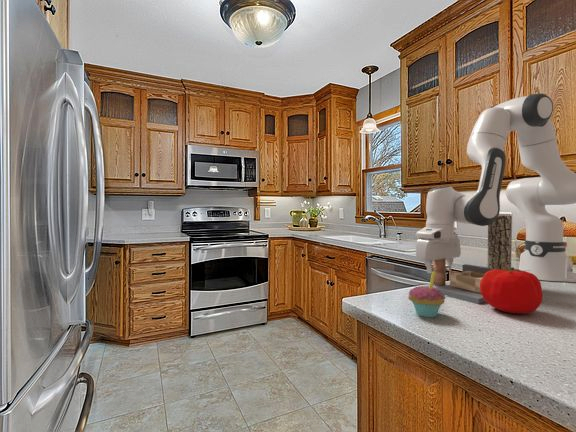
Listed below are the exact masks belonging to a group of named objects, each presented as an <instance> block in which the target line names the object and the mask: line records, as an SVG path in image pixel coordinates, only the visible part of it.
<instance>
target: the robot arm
mask: <svg viewBox="0 0 576 432" xmlns="http://www.w3.org/2000/svg"><path fill="white" fill-rule="evenodd" d="M553 113H554V102H553V100H552V99H551V98H550V96H549V95H547V94H546V93H532V94H529V95H525V96H520V97H516V98H515V97H514V98H511V99H510V100H507V101H504V102H500V103H497V104H494V105H492V106H490V107H488V108H486V109H485V110H482V112H481V113H480V115H479V116H478V118H477V119H476V122H475V124H474V126H473V127H472V131H471V133H470V135H469V139H468V142H467V145H466V155H467V157H468V158H469V159H470V160H471V161H472V162H474V163H476V164H479V165H480V166H481V173H480V177H479V181H478V183H479V184H478V188H477V190H476V191H475V192H474V194H472V195H466V194H463V193H461V192H459V191H457V190H455V189H454V188H453V186H452V185H443V186H437V187H433V188H430V189H429V190H428V192H427V196H426V202H425V203H426V205H425V213H426V221H425V226H424V227H422V229H419V230H418V231H416V233H415V237H416V238H417V240H416V244H415V257H416V259H417V260H418V261H421V262H424V265H425V267H426V273H427V274H431V275H432V272H433V271H434V268H433V260H440V259H443V258H446V272H449V271H452V265H453V263H454V258H460V257H461V254H462V253H461V252H462V251H461V250H462V249H461V241H460V238H459V235H458V234H457V232H456V231H455V225H454V224H455V223H461V224H469V225H470V224H471V225H475V226H479V227H485V226H487V227H488V225H489V224H491V223H493V222H494V221H495V220H496V219H497V217H498V215H499V214H500V213H501V201H500V199H501V198H500V196H501V191H502V185H503V179H504V174H505V169H506V161H507V156H506V153H505V145H506V144H507V143H506V142H507V139H508V135H509V132H514V131H516V132H517V133H516V138H517V146H518V150H519V156H520V162H521V165H522V166H523V167H525V168H526V169H528V170H531V171H534V172H536V173H537V174H538V175H539V176H535V177H524V178H519V179H516V180H511V182H509V183H508V185H507V186H506V189H505V197H506V200H508V202H510V204H513V205H514V206H515V207H516V208H517V209H518V210H519V211H520V212H521V214H522V216H523V219H524V222H525V240H524V244H523V245H524V251H523V252H521V253H520V258H519V268H518V269H519V270H520V271H521V270H522V271H526V272H529V273H532V274H534V275H535V276H536V277H537V278H538V280H539V281H548V282H564V283H566V282H567V283H576V272H573V271H574V266H573V265H574V263H573V260H572V259H571V258H570V257H569V256H568V255H567V253H566V252H567V251H566V248H567V247H568V243H567V242H566V241H564V222H563V221H562V219H560V218H559V216H556V215H553V214H551V213H549V212H548V211H547V209H546V206H558V205H559V206H563V205H564V206H566V205H573V204H576V172H574V171H573V170H571V169H570V168H569V167H568V166H567V165H566V164H565V163H564V161H563V160H562V157H561V155H560V152H559V147H558V140H557V136H556V135H557V134H556V131H555V126H554V124H553V121H552V118H551V117H552V115H553ZM527 270H529V271H527Z"/></svg>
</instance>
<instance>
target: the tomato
mask: <svg viewBox="0 0 576 432" xmlns="http://www.w3.org/2000/svg"><path fill="white" fill-rule="evenodd" d="M527 271H529V270H527ZM480 292H481V295H482V296H483V298H484V299H485V301H486V302H485V303H487V304H489V305H490V307H491V308H495V309H497V310H498V311H499V310H500V311H502V312H504V313H511V314H530V313H533V312H535V311H537V309H538V308H539V307H540V305H541V304H542V302H543V294H544V293H543V290H542V284H541V280H538V278H537V277H536V276H535V275H534V274H532V273H529V272H526V271H522V270H521V271H520V270H519V268H515V267H513V266H511V269H509V268H507V269H494V270H490V271H488V272H486V273H485V274H484V276H483V278H482V280H481V282H480Z"/></svg>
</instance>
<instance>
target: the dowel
mask: <svg viewBox="0 0 576 432" xmlns="http://www.w3.org/2000/svg"><path fill="white" fill-rule="evenodd" d="M432 268H434V269H435V271H434V272H435V275H434V280H433V286H434V285H435V287H440V286H445V285H447V284H446V282H447V281H446V278H447V277H446V274H447V273H446V272H447V271H446V258H443V259H440V260H433V262H432Z"/></svg>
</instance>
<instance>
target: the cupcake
mask: <svg viewBox="0 0 576 432" xmlns="http://www.w3.org/2000/svg"><path fill="white" fill-rule="evenodd" d="M434 271H435V269H434ZM434 271H433V272H432V273H431V276H430V281H429V286H424V285H421V286H415V287H413V288H411V289H410V290H409V291H408V300H410V301H411V302H412V304H413V306H414V310H415V312H416V314H417V315H418V316H420V317H424V318H435V317H437V316H438V313H439V310H440V307H441V306H442V305H443V304H445V300H446V296H445V295H443V294H442V292H440V291H439V290H437V289H436V288H435V287H434V285H433V280H434V275H435V272H434Z"/></svg>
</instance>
